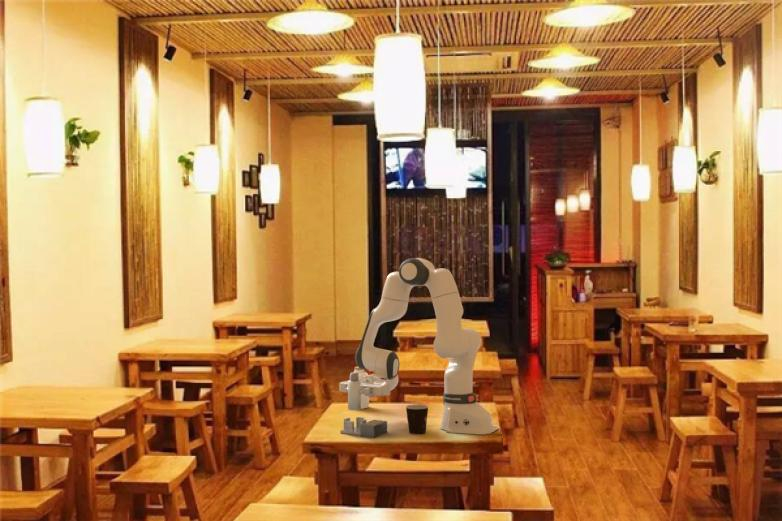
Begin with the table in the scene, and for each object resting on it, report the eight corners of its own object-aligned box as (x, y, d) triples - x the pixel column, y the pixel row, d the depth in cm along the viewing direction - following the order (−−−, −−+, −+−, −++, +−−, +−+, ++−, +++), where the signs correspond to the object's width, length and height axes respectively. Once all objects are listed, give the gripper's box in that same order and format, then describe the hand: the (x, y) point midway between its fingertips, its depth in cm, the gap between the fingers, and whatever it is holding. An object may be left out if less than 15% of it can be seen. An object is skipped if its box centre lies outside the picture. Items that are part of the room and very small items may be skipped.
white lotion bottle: (363, 408, 342) (363, 372, 341) (356, 410, 337) (356, 374, 337) (352, 407, 344) (352, 371, 344) (345, 409, 340) (345, 373, 339)
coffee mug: (415, 429, 345) (415, 403, 345) (433, 432, 340) (432, 406, 340) (396, 434, 336) (396, 408, 336) (414, 437, 331) (414, 411, 331)
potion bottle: (360, 410, 382) (360, 369, 382) (346, 408, 387) (345, 367, 387) (372, 407, 389) (372, 366, 388) (358, 405, 394) (357, 365, 393)
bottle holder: (387, 432, 340) (387, 419, 339) (374, 438, 331) (373, 424, 331) (352, 428, 347) (352, 415, 347) (339, 433, 339) (338, 420, 339)
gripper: (349, 375, 357) (330, 381, 345) (393, 379, 347) (375, 385, 335) (349, 391, 357) (330, 397, 345) (393, 395, 347) (375, 401, 335)
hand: (353, 391), depth 340 cm, fingers closed on white lotion bottle, 5 cm apart
